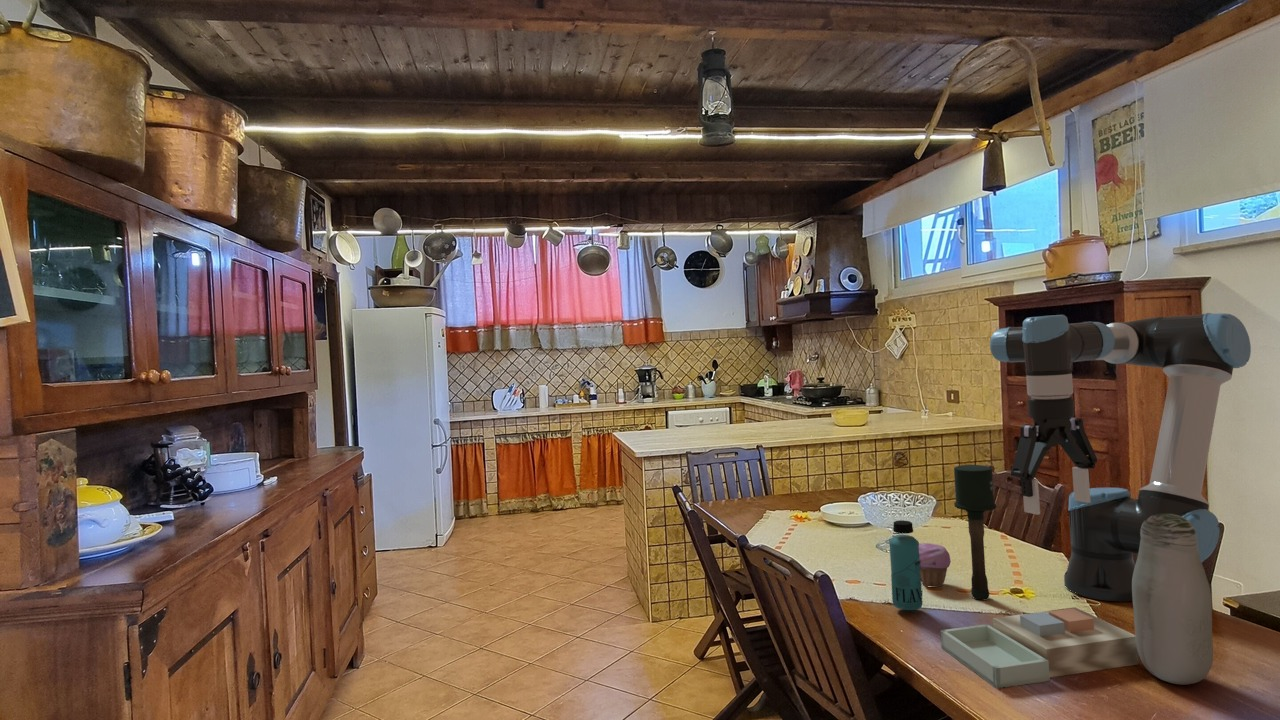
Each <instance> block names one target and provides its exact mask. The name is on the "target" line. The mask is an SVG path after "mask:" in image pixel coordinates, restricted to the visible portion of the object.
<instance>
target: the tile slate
mask: <svg viewBox="0 0 1280 720" xmlns="http://www.w3.org/2000/svg"><path fill="white" fill-rule="evenodd" d="M1040 612H1041V613H1035V612H1032V613H1033V614H1028V613H1025V614H1026V615H1020V614H1019V615H1020V624H1021V626H1022V627H1024V628H1025V629H1027V630H1029V631H1031V632H1033V633H1034V634H1036V635H1038V636H1040V637H1042V636H1049V635H1056V634H1063V633H1065V627H1064V622H1062V621H1060V620H1058V619H1057V618H1055V617H1053V616H1051V615H1049V614H1047V613H1045V612H1043V611H1040Z"/></svg>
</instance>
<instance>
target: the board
mask: <svg viewBox="0 0 1280 720" xmlns="http://www.w3.org/2000/svg"><path fill="white" fill-rule="evenodd" d="M1071 608H1073V609H1075V610H1077V611H1079V612H1081V613H1083V614H1085V615H1087V616H1089V617H1092V618H1094V629H1092V630H1085V631H1078V632H1071V633H1070V632H1068V631H1066V630H1065V633H1063V634H1056V635H1049V636H1042V637H1040V636H1038V635H1036V634H1034V633H1033V632H1031V631H1029V630H1027V629H1025V628H1024V627H1022V626H1021V624H1020V615H1026V614H1033V613H1041V612H1045V613H1047V614H1049V611H1056V610H1063V609H1071ZM992 627H993V628H995V629H996V630H998V631H1000V632H1001V633H1003V634H1005V635H1006V636H1008V637H1010V638H1011V639H1013V640H1015V641H1016V642H1018V643H1020V644H1021V645H1023V646H1025V647H1026V648H1028V649H1030V650H1031V651H1033V652H1035V653H1036V654H1038V655H1040V656H1041V657H1043V658H1045V659H1046V660H1048V661H1049V678H1055V677H1062V676H1070V675H1076V674H1081V673H1082V674H1083V673H1089V672H1090V673H1091V672H1095V671H1102V670H1103V671H1104V670H1109V669H1115V668H1122V667H1123V668H1124V667H1128V666H1135V665H1140V662H1139V661H1140V660H1139V659H1140V657H1139V654H1138V650H1137V646H1136V638H1135V634H1133V633H1131V632H1129V631H1127V630H1125V629H1123V628H1121V627H1118V626H1116V625H1114V624H1113V623H1110V622H1108V621H1105V620H1104V619H1101V618H1100V617H1097V616H1095V615H1093V614H1091V613H1088V612H1086V611H1084V610H1082V609H1080V608H1078V607H1076V606H1075V607H1074V606H1073V607H1066V608H1065V607H1064V608H1060V609H1059V608H1058V609H1051V610H1043V611H1037V612H1028V613H1020V614H1014V615H1005V616H998V617H993V618H992Z"/></svg>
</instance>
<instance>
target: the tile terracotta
mask: <svg viewBox="0 0 1280 720" xmlns="http://www.w3.org/2000/svg"><path fill="white" fill-rule="evenodd" d="M1070 608H1071V609H1065V608H1062V609H1063V610H1058V609H1055V610H1056V611H1050V610H1048V611H1049V615H1051V616H1053V617H1055V618H1057V619H1058V620H1060V621H1062V622H1064V627H1065V630H1066V631H1068V632H1070V633H1071V632H1078V631H1085V630H1092V629H1094V618H1092V617H1089V616H1087V615H1085V614H1083V613H1081V612H1079V611H1077V610H1075V609H1073V607H1070Z"/></svg>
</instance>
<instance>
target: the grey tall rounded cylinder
mask: <svg viewBox="0 0 1280 720" xmlns="http://www.w3.org/2000/svg"><path fill="white" fill-rule="evenodd" d="M1140 535H1141V540H1140V547H1139V553H1138V554H1137V559H1136V560H1135V561H1136V562H1135V568H1134V572H1133V577H1132V598H1133V601H1132V607H1133V622H1134V633H1135V634H1134V635H1135V638H1136V646H1137V650H1138V657H1139V659H1140V661H1141V663H1142V664H1143V666H1144V667H1145V668H1146V670H1147V671H1148V672H1149V673H1150V674H1151V675H1153V676H1154V677H1156V678H1158V679H1160V680H1161V681H1164V682H1167V683H1170V684H1175V685H1183V686H1185V685H1191V684H1196V683H1199V682H1200V681H1201V682H1202V680H1204V678H1206V677H1207V676H1208V674H1209V673H1210V671H1211V669H1212V666H1213V661H1214V643H1213V642H1214V640H1213V609H1212V608H1213V607H1212V605H1213V604H1212V593H1211V587H1210V584H1209V580H1208V577H1207V575H1206V571H1205V568H1204V566H1203V562H1201V560H1200V555H1199V550H1198V542H1197V535H1196V532H1195V529H1194V527H1193V526H1192V524H1191V523H1190V522H1189V521H1188V520H1187V519H1185V518H1183V517H1181V516H1179V515H1176V514H1157V515H1153V516H1150V517H1148V518H1147V519H1146V520H1145V521H1144V522H1143V524H1142V526H1141V531H1140Z"/></svg>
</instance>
